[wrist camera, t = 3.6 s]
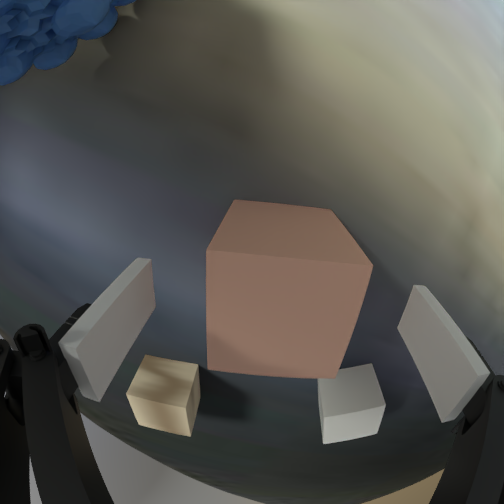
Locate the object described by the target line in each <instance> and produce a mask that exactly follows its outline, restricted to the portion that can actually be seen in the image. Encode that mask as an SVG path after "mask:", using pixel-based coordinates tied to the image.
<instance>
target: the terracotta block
mask: <svg viewBox="0 0 504 504" xmlns="http://www.w3.org/2000/svg"><path fill="white" fill-rule="evenodd" d="M372 269H373V265H372V263H371V262H370V260H369V259H368V258H367V256H366V255H365V253H364V252H363V251H362V249H361V248H360V247H359V245H358V244H357V243H356V241H355V240H354V239H353V237H352V236H351V235H350V233H349V232H348V231H347V229H346V228H345V227H344V225H343V224H342V223H341V221H340V220H339V219H338V218H337V216H336V215H335V214H334V213H333V211H332V210H331V209H323V208H315V207H307V206H298V205H289V204H279V203H269V202H258V201H247V200H235V199H234V201H233V203H232V204H231V206H230V208H229V210H228V211H227V213H226V215H225V217H224V219H223V220H222V222H221V224H220V226H219V228H218V229H217V231H216V233H215V235H214V237H213V239H212V240H211V242H210V244H209V246H208V248H207V250H206V324H207V362H208V370H216V371H223V372H232V373H240V374H250V375H262V376H275V377H292V378H327V379H335V378H336V375H337V373H338V370H339V368H340V365H341V363H342V360H343V358H344V355H345V352H346V350H347V347H348V344H349V342H350V339H351V336H352V333H353V330H354V327H355V324H356V322H357V319H358V316H359V312H360V309H361V306H362V303H363V300H364V297H365V293H366V290H367V287H368V283H369V280H370V276H371V273H372Z"/></svg>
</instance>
